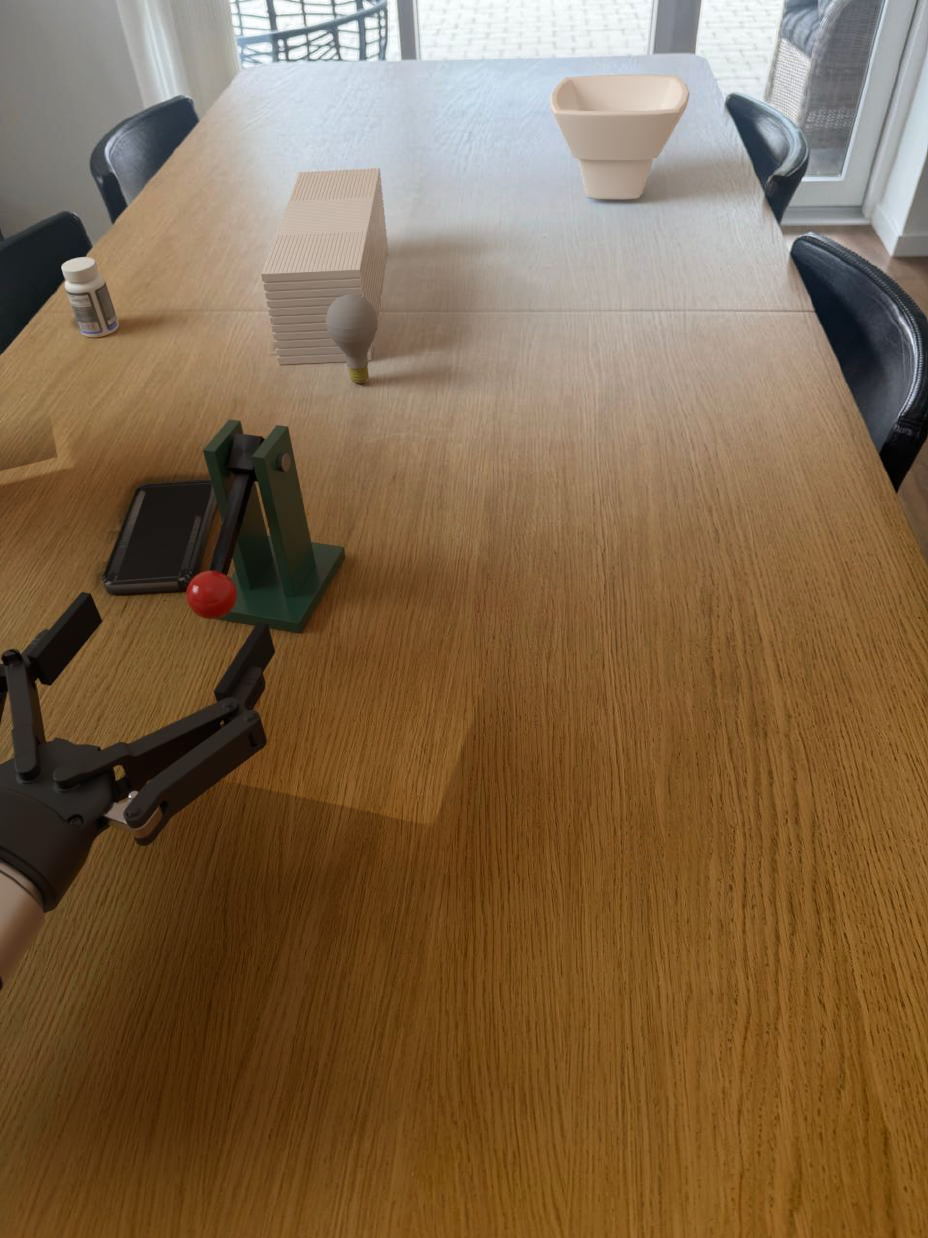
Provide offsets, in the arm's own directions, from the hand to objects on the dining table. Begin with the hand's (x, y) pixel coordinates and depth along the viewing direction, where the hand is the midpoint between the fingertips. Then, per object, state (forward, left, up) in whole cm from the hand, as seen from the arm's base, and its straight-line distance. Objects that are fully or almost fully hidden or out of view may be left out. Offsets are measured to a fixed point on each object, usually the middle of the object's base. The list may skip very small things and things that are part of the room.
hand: (177, 621), depth 67 cm
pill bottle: (-69, +1, -9) cm, 69 cm away
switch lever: (-8, +6, 0) cm, 10 cm away
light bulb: (-41, +26, -9) cm, 49 cm away
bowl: (-77, +78, -9) cm, 109 cm away
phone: (-22, +1, -9) cm, 23 cm away
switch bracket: (-11, +9, -8) cm, 16 cm away
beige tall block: (-62, +30, -9) cm, 69 cm away
